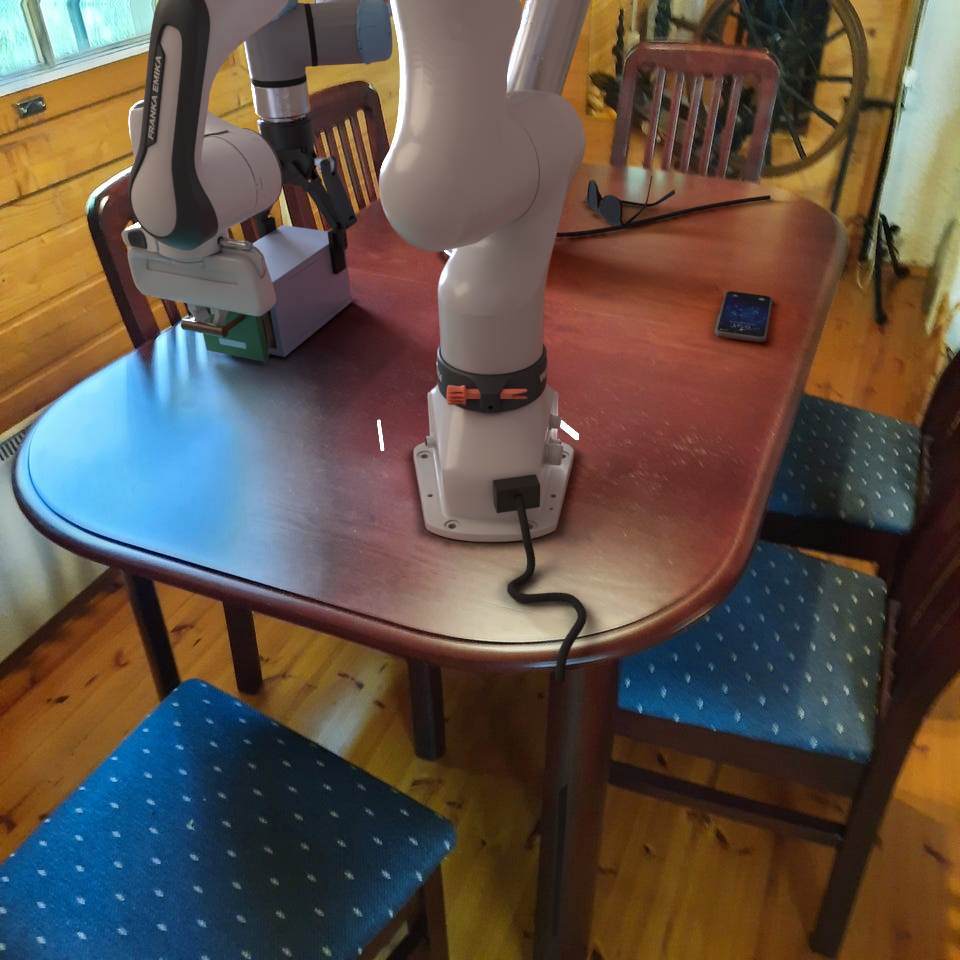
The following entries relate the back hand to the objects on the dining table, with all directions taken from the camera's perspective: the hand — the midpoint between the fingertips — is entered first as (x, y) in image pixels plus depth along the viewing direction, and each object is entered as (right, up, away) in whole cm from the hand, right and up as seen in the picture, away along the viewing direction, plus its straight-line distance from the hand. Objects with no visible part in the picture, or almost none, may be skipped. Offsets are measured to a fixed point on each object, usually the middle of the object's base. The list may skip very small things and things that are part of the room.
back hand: (306, 265), depth 132 cm
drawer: (-5, -12, -7) cm, 15 cm away
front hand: (-9, -13, -17) cm, 23 cm away
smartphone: (+66, -9, -4) cm, 67 cm away
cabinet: (-2, -9, -1) cm, 9 cm away
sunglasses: (+56, +19, +34) cm, 69 cm away
